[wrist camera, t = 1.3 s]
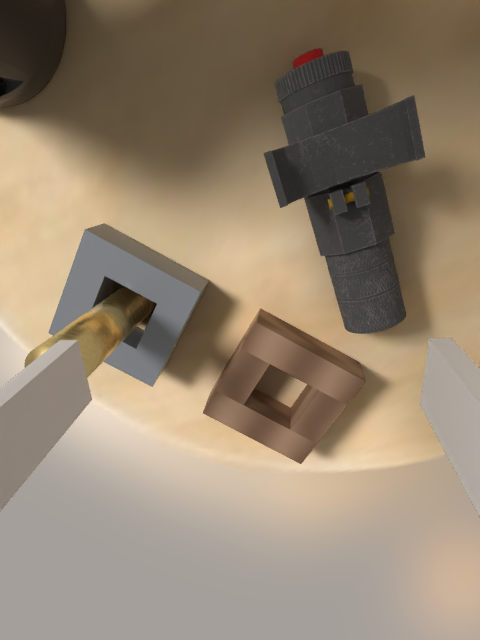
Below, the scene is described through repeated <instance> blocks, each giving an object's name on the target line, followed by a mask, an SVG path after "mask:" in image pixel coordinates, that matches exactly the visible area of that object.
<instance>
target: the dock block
mask: <svg viewBox="0 0 480 640" xmlns="http://www.w3.org/2000/svg"><path fill="white" fill-rule="evenodd" d="M270 364H271V365H272V366H274V367H276V368H278V369H280V370H282V371H284V372H286V373H287V374H289V375H291V376H293V377H295V378H297V379H299V380H300V381H302V382H304V383H306V384H308V385H307V386H306V387H305V389H304V390H303V392H302V393H301V394H300V396H299V397H298V399H297V400H296V401H295V403H294V404H293V406H292V407H291V408H289V407H288V406H286V405H284V404H282V403H280V402H278V401H276V400H274V399H272V398H271V397H269V396H267V395H265V394H263V393H261V392H259V391H257V390H255V389H254V388H255V386H256V385H257V383H258V382H259V380H260V379H261V377H262V376H263V374H264V372H265V371H266V369H267V368H268V366H269V365H270ZM365 382H366V381H365V378H364V375H363V372H362V369H361V366H360V363H359V362H358V361H356V360H354V359H352V358H350V357H349V356H347V355H345V354H343V353H341V352H339V351H338V350H336V349H334V348H332V347H330V346H328V345H326V344H325V343H323V342H321V341H319V340H317V339H315V338H314V337H312V336H310V335H308V334H306V333H304V332H303V331H301V330H299V329H297V328H295V327H293V326H292V325H290V324H288V323H286V322H284V321H282V320H281V319H279V318H277V317H275V316H273V315H271V314H270V313H268V312H266V311H264V310H262V309H260V310H259V311H258V313H257V315H256V317H255V318H254V320H253V322H252V323H251V325H250V327H249V328H248V330H247V332H246V333H245V335H244V337H243V339H242V340H241V342H240V344H239V345H238V347H237V349H236V350H235V352H234V354H233V355H232V357H231V359H230V360H229V362H228V364H227V366H226V367H225V369H224V371H223V372H222V374H221V376H220V377H219V379H218V381H217V382H216V384H215V386H214V388H213V389H212V391H211V393H210V395H209V398H208V401H207V403H206V406H205V409H204V411H203V413H204V414H206V415H207V416H209V417H211V418H213V419H215V420H217V421H219V422H221V423H223V424H225V425H227V426H229V427H231V428H232V429H234V430H236V431H238V432H240V433H242V434H244V435H246V436H248V437H250V438H252V439H254V440H256V441H258V442H259V443H261V444H263V445H265V446H267V447H269V448H271V449H273V450H275V451H277V452H279V453H281V454H283V455H284V456H286V457H288V458H290V459H292V460H294V461H296V462H298V463H300V464H301V463H302V462H303V461H304V460H305V458H306V457H307V456H308V455H309V453H310V452H311V451H312V449H313V448H314V447H315V446H316V444H317V443H318V442H319V441H320V439H321V438H322V437H323V435H324V434H325V433H326V432H327V430H328V429H329V428H330V426H331V425H332V424H333V423H334V421H335V420H336V419H337V418H338V416H339V415H340V414H341V412H342V411H343V410H344V409H345V407H346V406H347V405H348V403H349V402H350V401H351V400H352V398H353V397H354V396H355V395H356V393H357V392H358V391H359V389H360V388H361V387H362V386H363V384H364V383H365Z"/></svg>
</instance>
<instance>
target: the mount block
mask: <svg viewBox="0 0 480 640" xmlns="http://www.w3.org/2000/svg"><path fill="white" fill-rule="evenodd" d="M115 282H117V283H119V284H121V285H123V286H125V287H127V288H129V289H130V290H132V291H134V292H136V293H138V294H140V295H142V296H144V297H145V298H147V299H149V300H151V301H153V302H155V303H157V305H156V308H155V310H154V312H153V314H152V316H151V318H150V320H149V323H148V325H147V327H146V329H145V331H144V330H142V329H140V328H138V327H136V328H135V329H134V330H133V331H132V332H131V333H130V334H129V335H128V336H127V337H126V338H125V340H124V341H123V342H122V343H121V344H120V345H119V346H118V347H117V348H116V349H115V350H114V351H113V352H112V353H111V354H110V355H109V356H108V357H107V358H106V359H105V360H104V361H103V362H105V363H107V364H109V365H111V366H113V367H115V368H117V369H119V370H121V371H123V372H125V373H127V374H128V375H130V376H132V377H134V378H136V379H138V380H140V381H142V382H144V383H146V384H148V385H150V386H152V387H153V385H154V384H155V382H156V380H157V379H158V377H159V376H160V374H161V373H162V371H163V370H164V368H165V366H166V364H167V362H168V360H169V358H170V356H171V354H172V352H173V350H174V348H175V346H176V344H177V343H178V341H179V339H180V337H181V335H182V333H183V331H184V329H185V327H186V325H187V323H188V321H189V319H190V317H191V315H192V313H193V311H194V309H195V308H196V306H197V304H198V302H199V300H200V298H201V296H202V294H203V292H204V290H205V288H206V286H207V284H208V282H209V280H207V279H205V278H204V277H202V276H200V275H198V274H196V273H194V272H192V271H191V270H189V269H187V268H185V267H183V266H181V265H180V264H178V263H176V262H174V261H172V260H170V259H169V258H167V257H165V256H163V255H161V254H159V253H158V252H156V251H154V250H152V249H150V248H148V247H147V246H145V245H143V244H141V243H139V242H137V241H136V240H134V239H132V238H130V237H128V236H126V235H125V234H123V233H121V232H119V231H117V230H115V229H114V228H112V227H110V226H108V225H106V224H101V225H98V226H94V227H91V228H88V229H85V231H84V233H83V236H82V239H81V242H80V245H79V248H78V250H77V253H76V256H75V259H74V262H73V265H72V268H71V270H70V273H69V276H68V279H67V282H66V285H65V287H64V290H63V293H62V296H61V299H60V302H59V304H58V307H57V310H56V313H55V316H54V319H53V321H52V324H51V327H50V330H49V333H50V334H51V335H53V336H54V335H55V334H56V333H58V332H59V331H61V330H62V329H64V328H65V327H66V326H68V325H69V324H71V323H72V322H73V321H75V320H76V319H78V318H79V317H81V316H82V315H83V314H85V313H86V312H88V311H89V310H90V309H92V308H93V307H95V306H96V305H98V304H99V303H100V302H102V301H103V300H105V299H106V298H107V297H109V296H110V294H111V291H112V289H113V286H114V284H115Z"/></svg>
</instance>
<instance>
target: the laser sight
mask: <svg viewBox="0 0 480 640" xmlns="http://www.w3.org/2000/svg"><path fill="white" fill-rule="evenodd" d="M293 65H294V69H293V70H292V71H290V72H289V73H287V74H285V75H284V76H282V77H281V78H280V79H279V80H278V81H276V83H275V88H276V91H277V95H278V98H279V102H280V103H281V104H282V107H283V111H284V114H285V115H284V116H282V117H281V118H282V122H283V125H284V129H285V132H286V136H287V139H288V143H289V146H286V147H283V148H280V149H277V150H273V151H269V152H266V153H264V156H265V160H266V163H267V166H268V169H269V173H270V176H271V179H272V182H273V186H274V189H275V192H276V195H277V199H278V202H279V205H280V208H282V207H285V206H287V205H288V204H290V203H292V202H294V201H296V200H298V199H301V198H303V197H304V199H305V202H306V206H307V209H308V213H309V216H310V220H311V223H312V227H313V230H314V234H315V237H316V241H317V244H318V248H319V251H320V255H321V256H325V258H326V262H327V265H328V270H329V273H330V276H331V279H332V283H333V286H334V290H335V295H336V298H337V301H338V304H339V308H340V311H341V315H342V318H343V322H344V326H345V329H346V330H347V331H349V332H352V333H359V334H365V333H374V332H379V331H383V330H386V329H389V328H391V327H393V326H395V325H397V324H399V323H400V322H402V321H403V320H404V318H405V317H406V311H405V308H404V304H403V299H402V295H401V290H400V285H399V281H398V276H397V273H396V268H395V264H394V258H393V255H392V250H391V246H390V242H389V236H391V235H392V234H394V229H393V224H392V220H391V215H390V211H389V206H388V202H387V197H386V193H385V188H384V184H383V179H382V175H381V172H377V171H379V170H382V169H386V168H389V167H392V166H395V165H399V164H402V163H406V162H409V161H414V160H419V159H422V158H425V152H424V147H423V141H422V136H421V130H420V125H419V119H418V114H417V109H416V103H415V98H414V96H411V97H409V98H406V99H405V100H402V101H400V102H398V103H396V104H394V105H391V106H389V107H387V108H384V109H382V110H379V111H377V112H374V113H372V114H370V115H368V111H367V107H366V102H365V98H364V93H363V89H362V85H358V86H354V81H353V76H352V73H353V69H352V64H351V60H350V55H349V52H348V51H339V52H335V53H331V54H328V55H325V56H324V55H323V51H322V49H320V48H319V49H315V50H312V51H309V52H307V53H305V54H303V55H301V56H299V57H298V58H296V59H295V60H294V61H293Z"/></svg>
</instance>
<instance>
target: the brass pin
mask: <svg viewBox="0 0 480 640" xmlns="http://www.w3.org/2000/svg"><path fill="white" fill-rule="evenodd" d="M153 307H154V302H153V301H151V300H149V299H147V298H145V297H144V296H142V295H140V294H138V293H136V292H134V291H132V290H130V289H129V288H127V287H125V286H123V287H122V288H120V289H119V290H117V291H116V292H115V293H113V294H112V295H110V296H109V297H107V298H106V299H105V300H103V301H102V302H100V303H99V304H98V305H96V306H95V307H93V308H92V309H90V310H89V311H88V312H86V313H85V314H83V315H82V316H81V317H79V318H78V319H76V320H75V321H73V322H72V323H71V324H69V325H68V326H66V327H65V328H64V329H62V330H61V331H59V332H58V333H56V334H55V335H54V336H52V337H51V338H49V339H48V340H47V341H45V342H44V343H42V344H41V345H39V346H38V347H37V348H35V349H34V350H32V351H31V352H30V353H29V354H28V356H27V357H26V360H25V367H27V366H28V365H29V364H31V363H32V362H33V361H34V360H36V359H37V358H38V357H39V356H41V355H42V354H43V353H44V352H46V351H47V350H48V349H49V348H51V347H52V346H53V345H54V344H56V343H57V342H58V341H60V340H78V342H79V346H80V350H81V355H82V359H83V363H84V367H85V372H86V376H87V377H88V376H89V375H90V374H91V373H92V372H93V371H94V370H95V369H96V368H97V367H98V366H99V365H100V364H101V363H102V362H103V361H104V360H105V359H106V358H107V357H108V356H109V355H110V354H111V353H112V352H113V351H114V350H115V349H116V348H117V347H118V346H119V345H120V344H121V343H122V342H123V341H124V340H125V338H126V337H127V336H128V335H129V334H130V333H131V332H132V331H133V330H134V329H135V328H136V327H137V326H138V325H139V324H140V323H141V322H142V321H143V320H144V319H145V318H146V317H147V316H148V315H149V314H150V313H151V312H152V310H153Z"/></svg>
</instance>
